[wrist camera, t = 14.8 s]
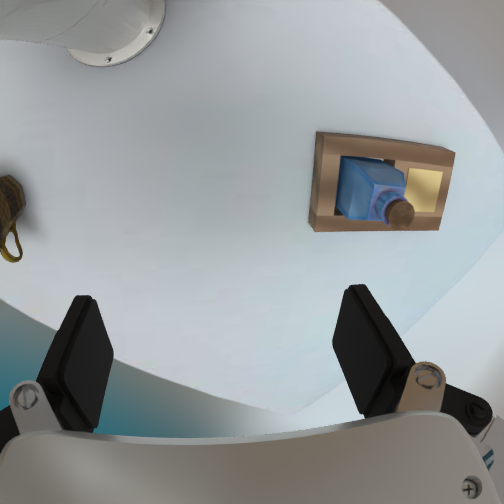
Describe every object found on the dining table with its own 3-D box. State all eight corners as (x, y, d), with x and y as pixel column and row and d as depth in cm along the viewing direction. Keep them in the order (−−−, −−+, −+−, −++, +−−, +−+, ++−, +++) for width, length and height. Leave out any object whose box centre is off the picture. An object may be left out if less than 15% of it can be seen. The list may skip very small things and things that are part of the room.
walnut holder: (316, 131, 36) (324, 135, 33) (442, 147, 38) (456, 152, 35) (308, 222, 42) (315, 232, 39) (427, 221, 44) (439, 231, 41)
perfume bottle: (330, 200, 40) (369, 243, 30) (337, 153, 37) (382, 183, 27) (371, 202, 41) (417, 244, 31) (379, 159, 38) (432, 190, 28)
